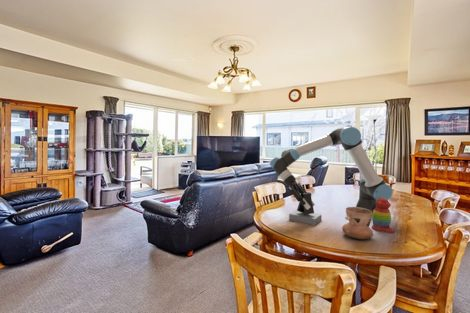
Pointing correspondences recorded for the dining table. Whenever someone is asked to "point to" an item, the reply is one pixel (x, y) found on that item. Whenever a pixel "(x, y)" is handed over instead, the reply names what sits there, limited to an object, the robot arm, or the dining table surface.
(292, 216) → the plinth
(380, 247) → the dining table surface
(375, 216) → the stacking bear
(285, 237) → the dining table surface
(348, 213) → the ceramic jug
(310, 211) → the black tapered block
